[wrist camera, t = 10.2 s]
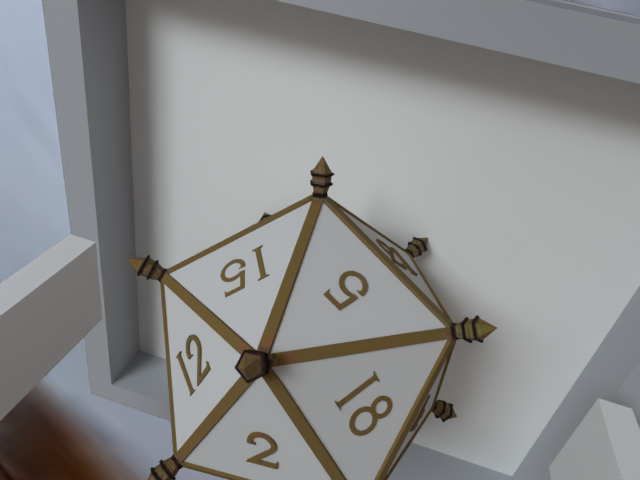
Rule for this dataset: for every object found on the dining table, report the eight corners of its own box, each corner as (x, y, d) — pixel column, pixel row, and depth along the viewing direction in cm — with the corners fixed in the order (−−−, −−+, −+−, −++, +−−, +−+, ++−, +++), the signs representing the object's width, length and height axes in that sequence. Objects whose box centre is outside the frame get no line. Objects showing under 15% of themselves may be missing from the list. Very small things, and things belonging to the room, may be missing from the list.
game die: (411, 226, 19) (567, 499, 13) (221, 321, 20) (282, 618, 14) (335, 31, 12) (599, 425, 6) (48, 191, 13) (15, 675, 7)
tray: (525, 476, 20) (533, 550, 18) (132, 344, 23) (91, 393, 20) (818, 54, 11) (917, 85, 9) (110, -97, 14) (28, -107, 11)
